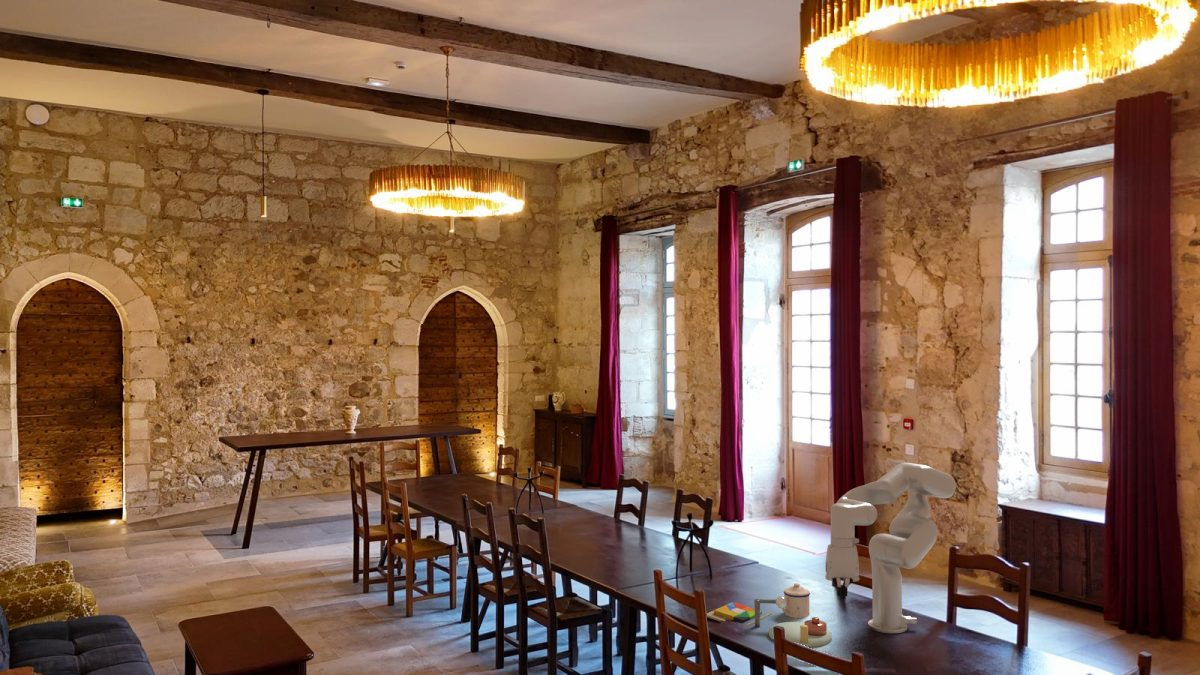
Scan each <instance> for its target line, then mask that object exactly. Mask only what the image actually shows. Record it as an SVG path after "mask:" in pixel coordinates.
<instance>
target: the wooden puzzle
mask: <svg viewBox="0 0 1200 675" xmlns="http://www.w3.org/2000/svg"><path fill="white" fill-rule="evenodd" d="M706 614H707V617H706V618H708V619H710V620H715V621H717V622H720V623H721V622H722V621H723V622H726V620H728V621H735V622H739V623H741V624H742V623H743V624H744V623H746V622H748V621H751V620H752V619H754V620H752V621H751V622H748V623H747V624H746V625H745V627H750V626H751V625H755V608H751V607H749V606H747V605H743V604H741V603H738V602H735V601H732V602H729V603H727V604H725V605H723V606H721V607H719V608H716V609H714V610H712V611H710V612H708V613H706ZM761 615H762V616H761ZM771 615H772V613H771V612H769V613H766V614H765V615H763V611H761V610H760V621H762V620H764V619H766V618H767V617H770V616H771Z"/></svg>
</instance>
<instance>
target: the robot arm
mask: <svg viewBox="0 0 1200 675" xmlns="http://www.w3.org/2000/svg"><path fill="white" fill-rule="evenodd" d="M956 490H957V484H956V480H955V479H954V477H953V476H952V475H951V474H949V473H947V472H944V471H942V470H939V469H936V468H934V467H931V466H928V465H925V464H920V463H912V462H901V463H899V464H897V465H895V466H894V467H892V468H891V469H890V470H889V471H887V473H885V474H884V475H882V476H881V477H880V478H879V479H877V480H875V481H873V482H869V483H866V484H864V485H859V486H857V487H855V488H852V489H850V490H849V491H847V492H846V493H844V494H843V495H842V496H841V497H840V498H839V499H838V500H837V501H836V503H833V504H832V505H831V506H830V544H828V545H827V549H826V555H825V556H826V557H825V578H824V579H825V580H827V581H830V582H833V583H834V584H835V585H836V588H837V589H836V594H837V597H839V600H847V598H846V597H848V588H849V586H850V585H851V584H852V583H853V582H859V581H860V565H859V563H860V562H859V552H858V547H857V545H856V544H859V543H860V539H859V538H856V537H855V532H856V531H855V526H863V527H864V526H867V527H868V526H870V525H873V523H874V522H876V520H877V519H878V510H877V508H876V507H875V506H874V505H884V504H885V505H886V504H891V503H893V502H895V501H896V500H897V499H898V498H900V497H901V496H902V495H903V494H904V493H906V492H907V493H908V497H907V501H906V503H905V505H904V506H903V507H902V509H901V510H900V511H899V512H898V513H897V514H896V516H895V517H894V518H893V519H892V521H891V522H890V524H889V528H888V530H889V533H877V534H874V535H873V536H872V537H871V539H870V540H869V543H868V553H869V558H870V562H871V563H870V564H871V572H872V574H871V576H872V581H871V583H872V584H871V586H872V589H871V590H872V594H871V596H872V599H871V600H872V605H871V606H872V619H870V620H868V621H867V624H868V626H869V627H870V628H871V630H872V631H876V632H879V633H882V634H883V633H884V634H900V633H904V632H906V631H907V630H908V624H911V625H912V624H913V625H915V624H916V625H917V623H918V619H917V617H911V615H907V616H906V615H904V614H903V592H902V590H903V588H902V587H903V585H902V584H903V581H902V580H903V577H902V573H901V569H900V568H904V569H908V570H910V569H913V568H916V567H917V566H918V565H919V564H920V563H921V561H922V560H924V558H925V556H926V555H927V554H928V553H929V551H930V550H931V549H932V548H933V547H934V545H935V543H936V541H937V538H938V531H939V529H938V526H937V524H936V523H935V521H934V520H932V519H930V516H931V506H930V504H929V500H928V496H929V497H933V498H938V499H939V498H940V499H948V498H949V499H950V498H951V497H952V496H954V494H955V493H956ZM841 578H843V583H842V581H841V580H842V579H841Z"/></svg>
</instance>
